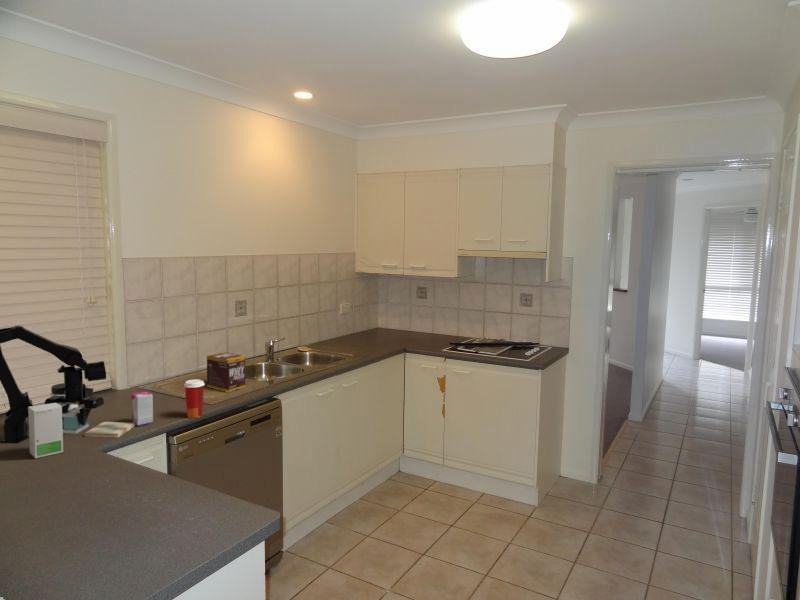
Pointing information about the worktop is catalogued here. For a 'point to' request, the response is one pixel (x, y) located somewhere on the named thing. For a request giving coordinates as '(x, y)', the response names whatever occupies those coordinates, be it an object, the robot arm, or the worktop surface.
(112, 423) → the birch stand
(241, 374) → the supplement box
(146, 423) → the supplement box
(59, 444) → the skincare box
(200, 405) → the paper cup
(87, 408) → the robot arm
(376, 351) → the worktop surface
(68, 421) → the housing
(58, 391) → the jar
